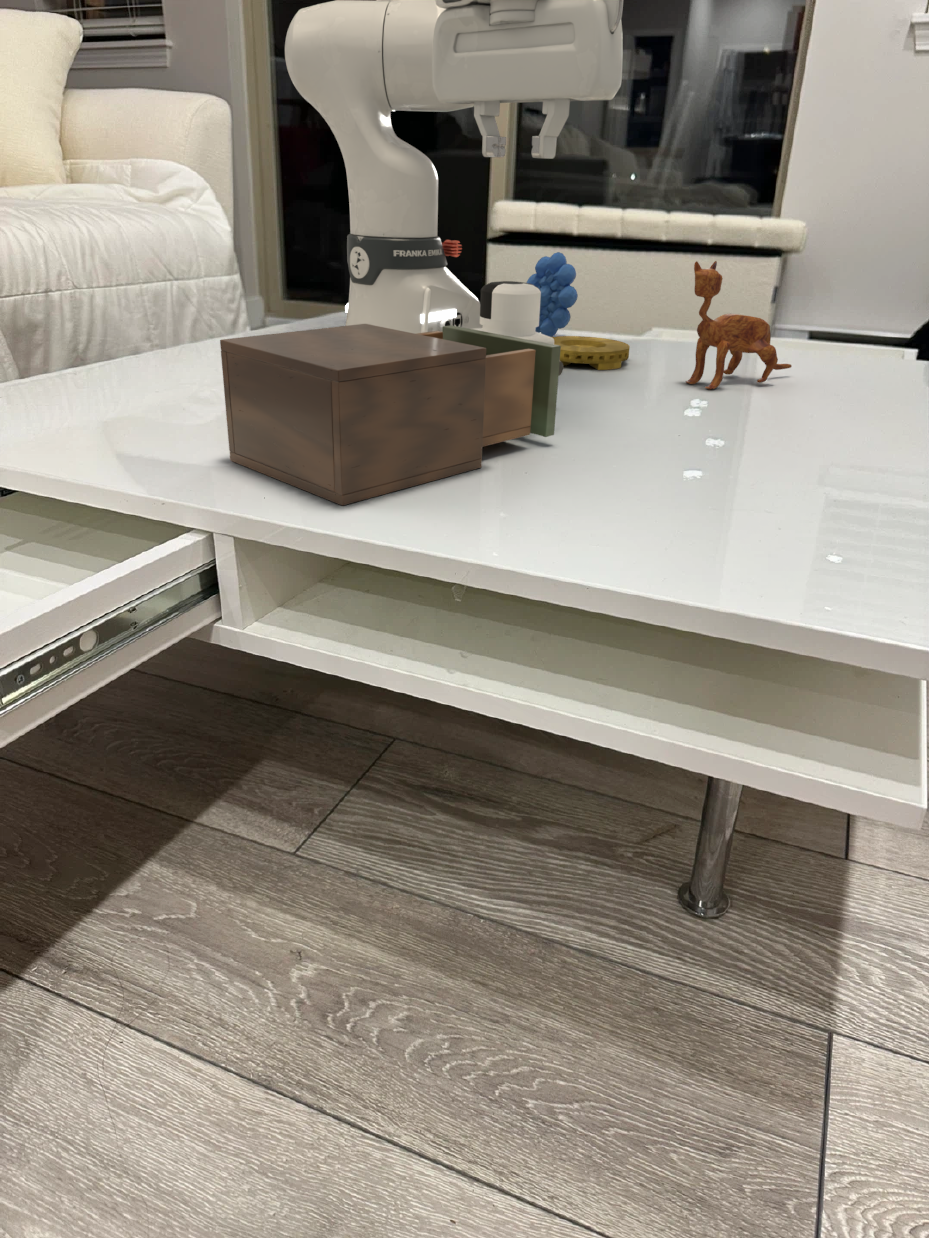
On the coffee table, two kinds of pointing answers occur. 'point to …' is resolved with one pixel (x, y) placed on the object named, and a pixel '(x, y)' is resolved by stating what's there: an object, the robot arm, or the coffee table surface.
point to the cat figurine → (729, 333)
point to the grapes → (554, 292)
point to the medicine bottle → (511, 310)
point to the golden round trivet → (592, 351)
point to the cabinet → (354, 408)
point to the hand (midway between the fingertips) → (517, 158)
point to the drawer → (513, 383)
